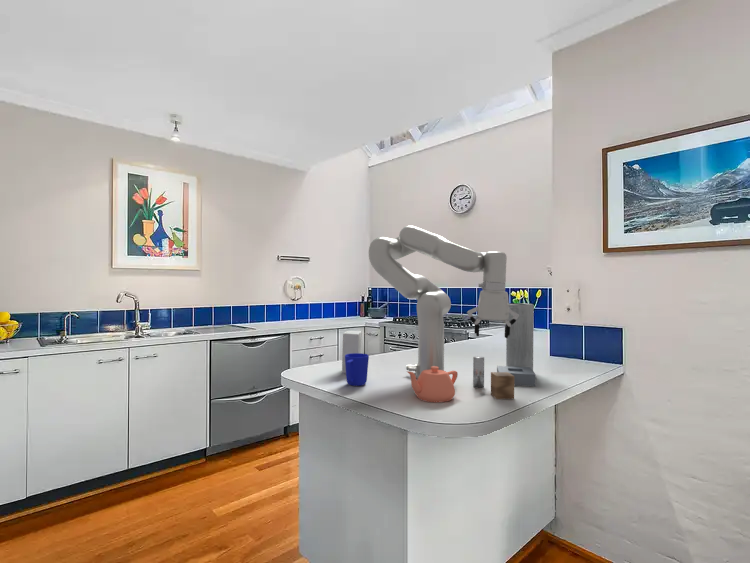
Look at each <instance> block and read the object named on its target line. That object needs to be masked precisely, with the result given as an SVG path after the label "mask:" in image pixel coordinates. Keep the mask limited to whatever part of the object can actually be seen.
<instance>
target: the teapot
mask: <svg viewBox="0 0 750 563" xmlns="http://www.w3.org/2000/svg"><path fill="white" fill-rule="evenodd" d="M438 369H439V367H437V366H432V367H431V369H429V370H423V371H422V372H421V374H420V375H419V377H418V379H417V378H416V376H415V374H414V373H415V372H414V371H409V370H407V371H406V372H407V373H408V374H409V375H410V384H411V389H412V390H413V391H414V394H415V395H416V397H417V398H418V399H419V400H421V401H423V402H428V403H446V402H450V401H451V400H452V399H454V397H455V395H456V389H455V388H456V387H455V383H456V382H457V379H458V375H459V374H458V371H456V370H451V371H450V370H449V371H446V370H444V371H443V370H438ZM450 375H452V377H451V376H450Z"/></svg>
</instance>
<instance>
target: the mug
mask: <svg viewBox="0 0 750 563" xmlns="http://www.w3.org/2000/svg"><path fill="white" fill-rule="evenodd" d="M369 355H370V354H367V353H363V352H361V353H352V354H346V355H345V365H346V373H345V377H346V378H345V379H346V383H347V385H348V386H352V387H360V386H364V385H366V384H367V381H368V371H369V370H368V369H369V359H370V356H369Z"/></svg>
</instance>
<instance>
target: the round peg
mask: <svg viewBox="0 0 750 563" xmlns="http://www.w3.org/2000/svg"><path fill="white" fill-rule="evenodd" d="M472 360H473V362H472V366H473V367H472V369H473V370H472V387H473V388H474V389H485V357H484V356H478V355H477V356H476V355H475V356H473V358H472Z"/></svg>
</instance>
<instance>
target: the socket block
mask: <svg viewBox="0 0 750 563" xmlns="http://www.w3.org/2000/svg"><path fill="white" fill-rule="evenodd" d="M496 372H509V373H510V374H512V375H513V376H514V386H523V387H524V386H525V387H536V384H537V380H536V379H537V378H536V377H537V376H536V375H537V374H536V372H535V371H534V369H533V370H532V368H530V367H511V366H506V365H497V367H496Z"/></svg>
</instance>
